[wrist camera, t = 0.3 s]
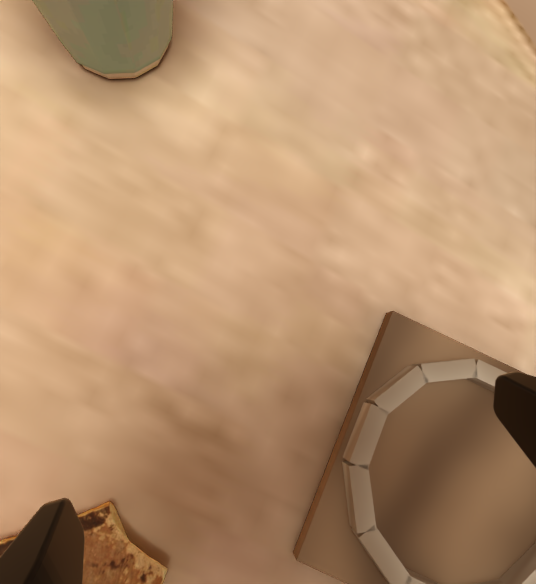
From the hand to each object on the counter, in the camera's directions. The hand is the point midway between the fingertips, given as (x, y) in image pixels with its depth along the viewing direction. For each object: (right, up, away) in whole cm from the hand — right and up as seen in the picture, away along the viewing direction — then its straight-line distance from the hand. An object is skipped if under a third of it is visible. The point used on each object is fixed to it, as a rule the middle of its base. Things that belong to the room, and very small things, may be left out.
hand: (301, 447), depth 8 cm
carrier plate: (+15, -10, +15) cm, 24 cm away
